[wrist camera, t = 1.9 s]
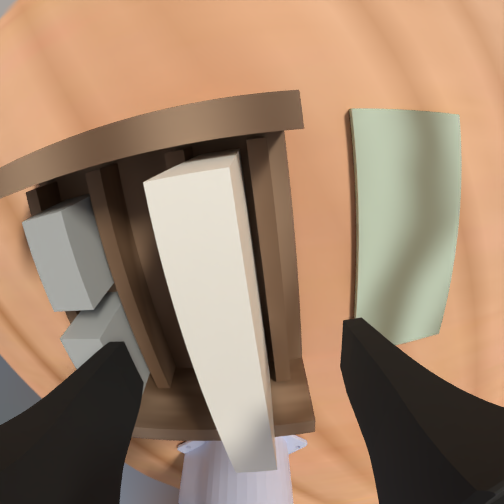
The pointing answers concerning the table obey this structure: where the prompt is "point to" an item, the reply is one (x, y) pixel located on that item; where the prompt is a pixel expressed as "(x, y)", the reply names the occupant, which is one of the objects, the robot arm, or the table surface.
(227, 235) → the cream rectangular slab
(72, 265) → the offcut
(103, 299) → the offcut
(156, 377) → the rack
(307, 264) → the table surface
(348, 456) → the table surface
